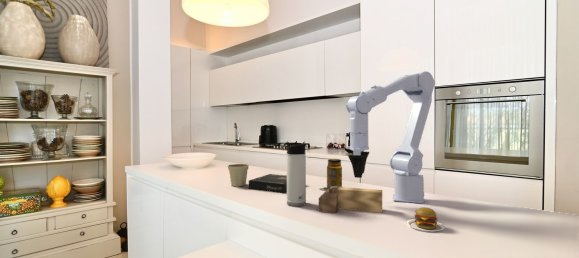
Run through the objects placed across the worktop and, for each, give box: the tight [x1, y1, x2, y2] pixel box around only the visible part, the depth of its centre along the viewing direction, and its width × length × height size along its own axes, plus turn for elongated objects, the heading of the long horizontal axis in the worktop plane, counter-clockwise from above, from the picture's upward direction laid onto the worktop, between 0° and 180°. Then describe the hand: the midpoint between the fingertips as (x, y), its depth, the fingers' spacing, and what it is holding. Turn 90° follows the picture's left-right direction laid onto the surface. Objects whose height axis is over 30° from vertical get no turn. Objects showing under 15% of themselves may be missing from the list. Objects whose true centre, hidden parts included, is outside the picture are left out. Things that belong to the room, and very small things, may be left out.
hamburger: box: [406, 206, 446, 233], centre depth 77 cm, size 12×12×6 cm
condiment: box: [319, 158, 343, 192], centre depth 120 cm, size 7×8×12 cm
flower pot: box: [226, 163, 250, 188], centre depth 128 cm, size 9×9×9 cm
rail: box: [332, 186, 383, 213], centre depth 93 cm, size 15×4×6 cm, turn 70°
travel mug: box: [286, 142, 307, 207], centre depth 98 cm, size 6×7×20 cm
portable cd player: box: [248, 173, 287, 194], centre depth 125 cm, size 16×17×4 cm
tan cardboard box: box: [318, 186, 339, 214], centre depth 96 cm, size 5×14×5 cm, turn 160°
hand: (359, 175), depth 96 cm, fingers open, 7 cm apart
